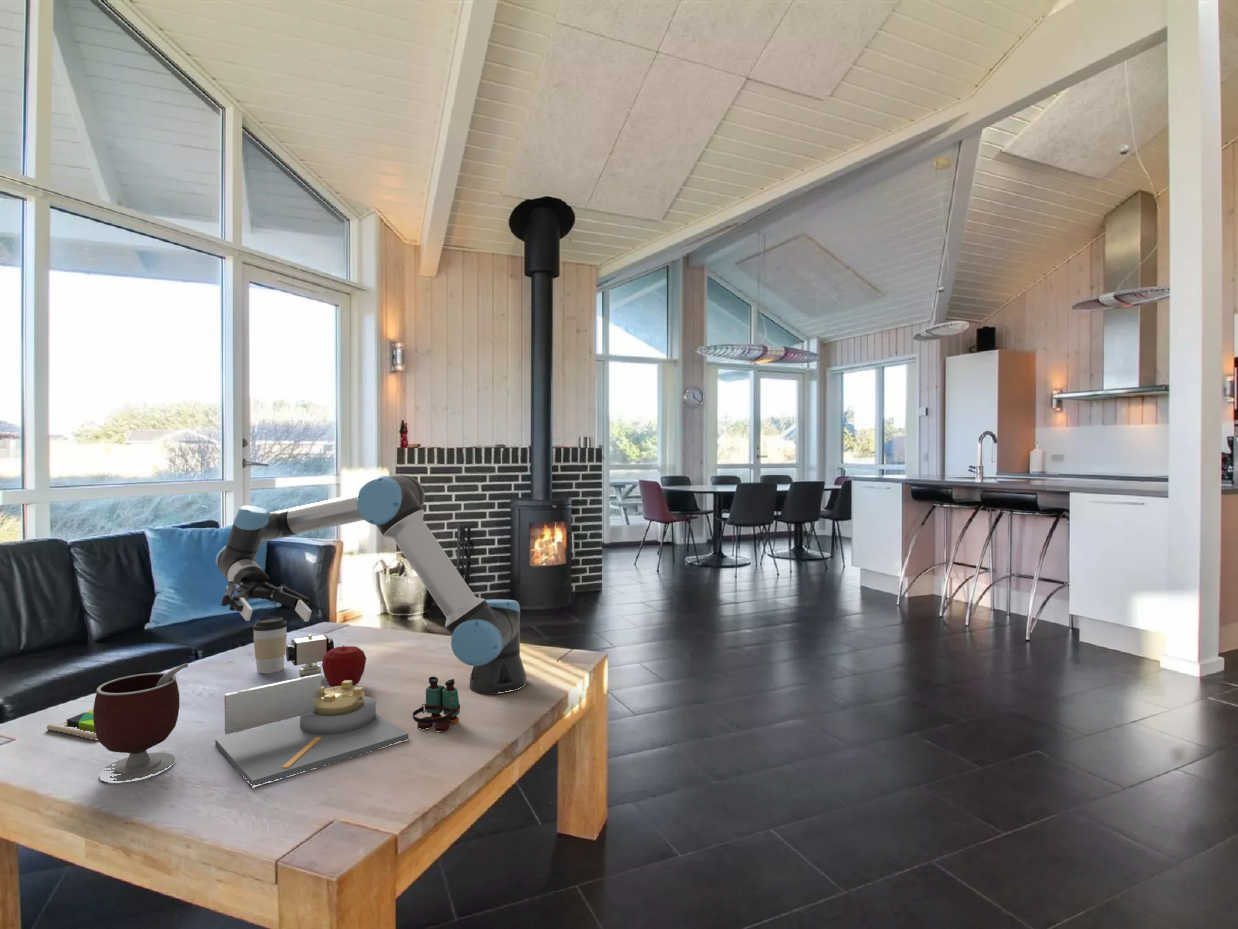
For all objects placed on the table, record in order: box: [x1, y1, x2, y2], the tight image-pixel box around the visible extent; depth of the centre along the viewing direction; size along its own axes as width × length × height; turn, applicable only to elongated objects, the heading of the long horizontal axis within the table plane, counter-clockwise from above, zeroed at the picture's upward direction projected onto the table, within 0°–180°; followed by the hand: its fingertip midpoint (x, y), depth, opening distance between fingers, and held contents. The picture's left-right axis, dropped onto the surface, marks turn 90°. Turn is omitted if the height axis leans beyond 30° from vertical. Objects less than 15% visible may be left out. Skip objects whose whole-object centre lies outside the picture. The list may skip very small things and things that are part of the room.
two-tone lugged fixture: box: [224, 674, 365, 736], centre depth 149 cm, size 28×11×8 cm, turn 134°
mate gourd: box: [92, 662, 189, 781], centre depth 134 cm, size 16×14×20 cm
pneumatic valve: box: [285, 634, 335, 678], centre depth 190 cm, size 6×12×12 cm, turn 125°
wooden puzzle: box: [46, 709, 97, 740], centre depth 159 cm, size 18×19×4 cm
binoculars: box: [412, 676, 461, 732], centre depth 155 cm, size 9×11×10 cm
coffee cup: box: [252, 616, 288, 674], centre depth 197 cm, size 9×9×15 cm
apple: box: [321, 644, 367, 687], centre depth 181 cm, size 11×11×12 cm
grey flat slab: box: [214, 695, 409, 786], centre depth 146 cm, size 31×26×4 cm
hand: (280, 615), depth 157 cm, fingers open, 13 cm apart
